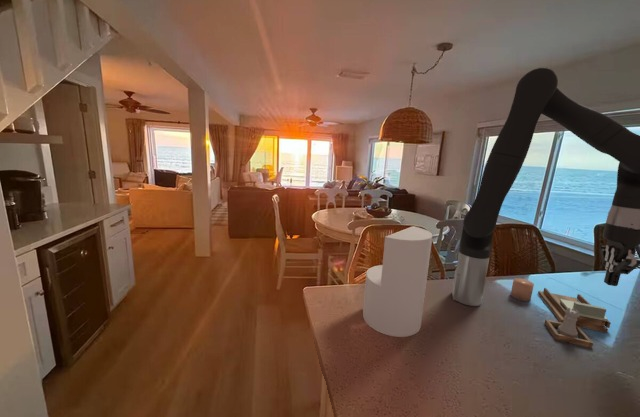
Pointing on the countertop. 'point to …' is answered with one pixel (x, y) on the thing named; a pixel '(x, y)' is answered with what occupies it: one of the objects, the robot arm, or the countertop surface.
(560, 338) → the wooden square frame
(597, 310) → the cover
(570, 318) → the rook chess piece
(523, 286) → the tan rounded block
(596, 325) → the shallow wooden box
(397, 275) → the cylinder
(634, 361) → the countertop surface
